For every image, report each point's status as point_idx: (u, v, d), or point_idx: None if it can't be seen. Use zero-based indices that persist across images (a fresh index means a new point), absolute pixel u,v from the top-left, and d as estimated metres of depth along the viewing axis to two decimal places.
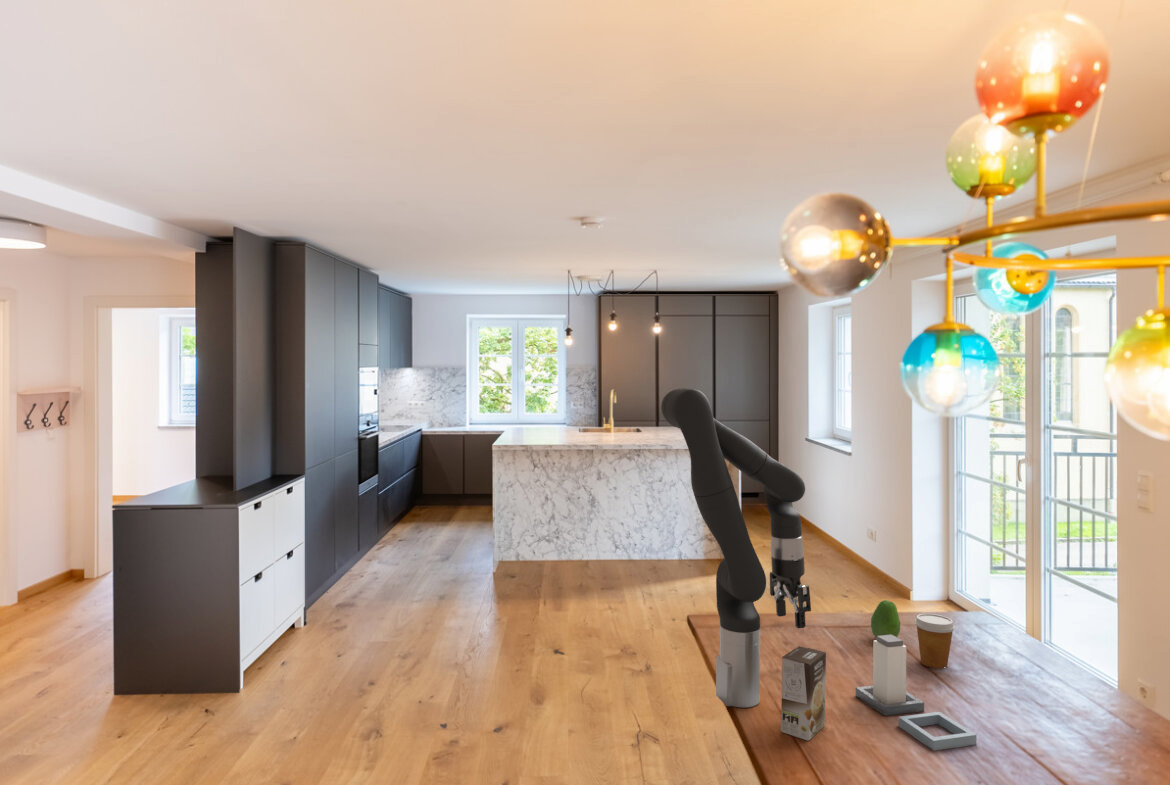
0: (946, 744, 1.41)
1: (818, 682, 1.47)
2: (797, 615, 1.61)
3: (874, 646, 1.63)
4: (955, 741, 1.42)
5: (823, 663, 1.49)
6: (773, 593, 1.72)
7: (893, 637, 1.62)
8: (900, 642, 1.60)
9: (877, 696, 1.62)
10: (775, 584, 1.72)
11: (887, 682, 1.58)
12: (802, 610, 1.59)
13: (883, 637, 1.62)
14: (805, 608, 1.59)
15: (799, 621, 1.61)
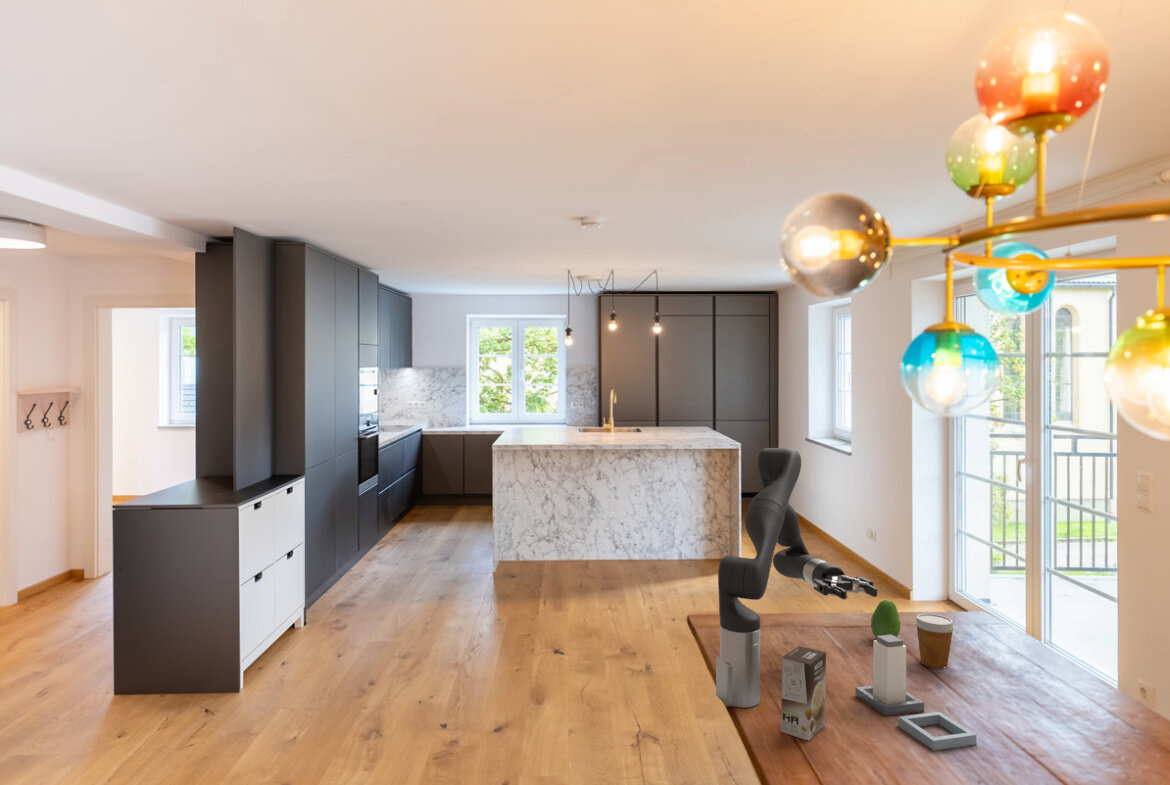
0: (946, 744, 1.41)
1: (818, 682, 1.47)
2: None
3: (874, 646, 1.63)
4: (955, 741, 1.42)
5: (823, 663, 1.49)
6: None
7: (893, 637, 1.62)
8: (899, 642, 1.60)
9: (877, 696, 1.62)
10: None
11: (887, 682, 1.58)
12: None
13: (883, 637, 1.62)
14: None
15: None
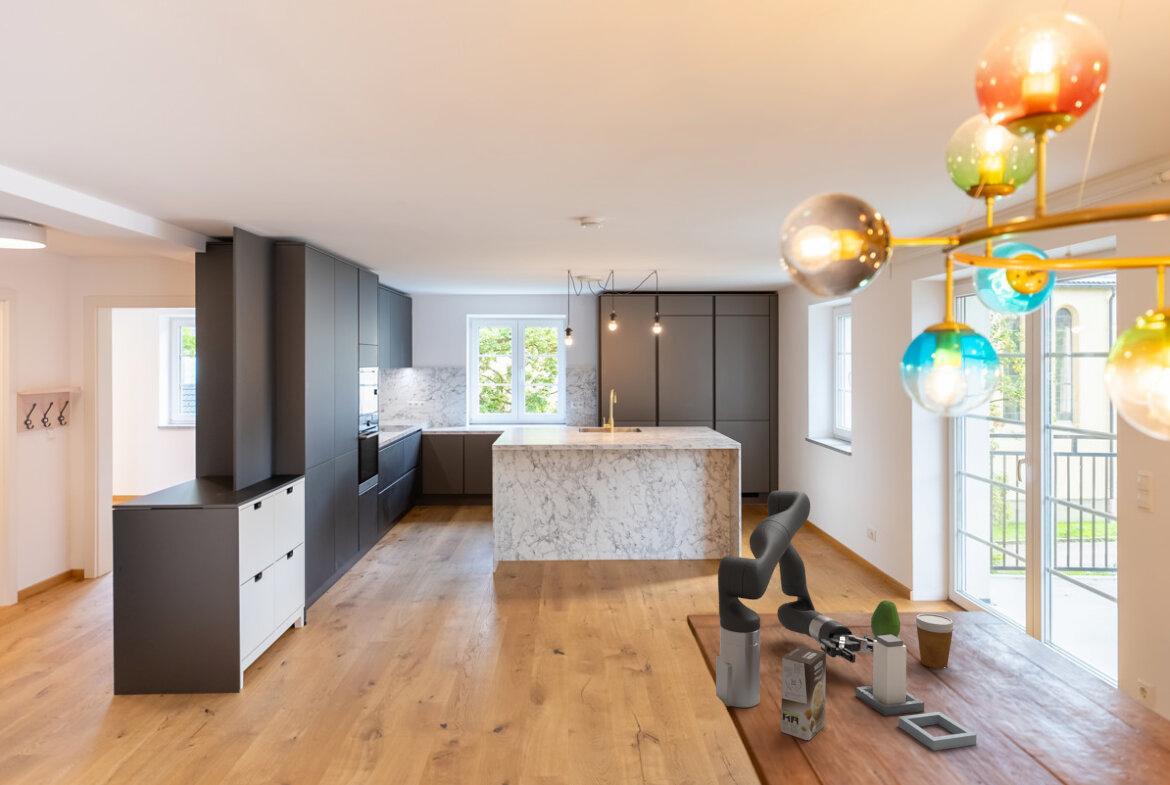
0: (946, 744, 1.41)
1: (818, 682, 1.47)
2: None
3: (874, 646, 1.63)
4: (955, 741, 1.42)
5: (823, 663, 1.49)
6: None
7: (893, 637, 1.62)
8: (899, 642, 1.60)
9: (877, 696, 1.62)
10: None
11: (887, 682, 1.58)
12: None
13: (883, 637, 1.62)
14: None
15: None
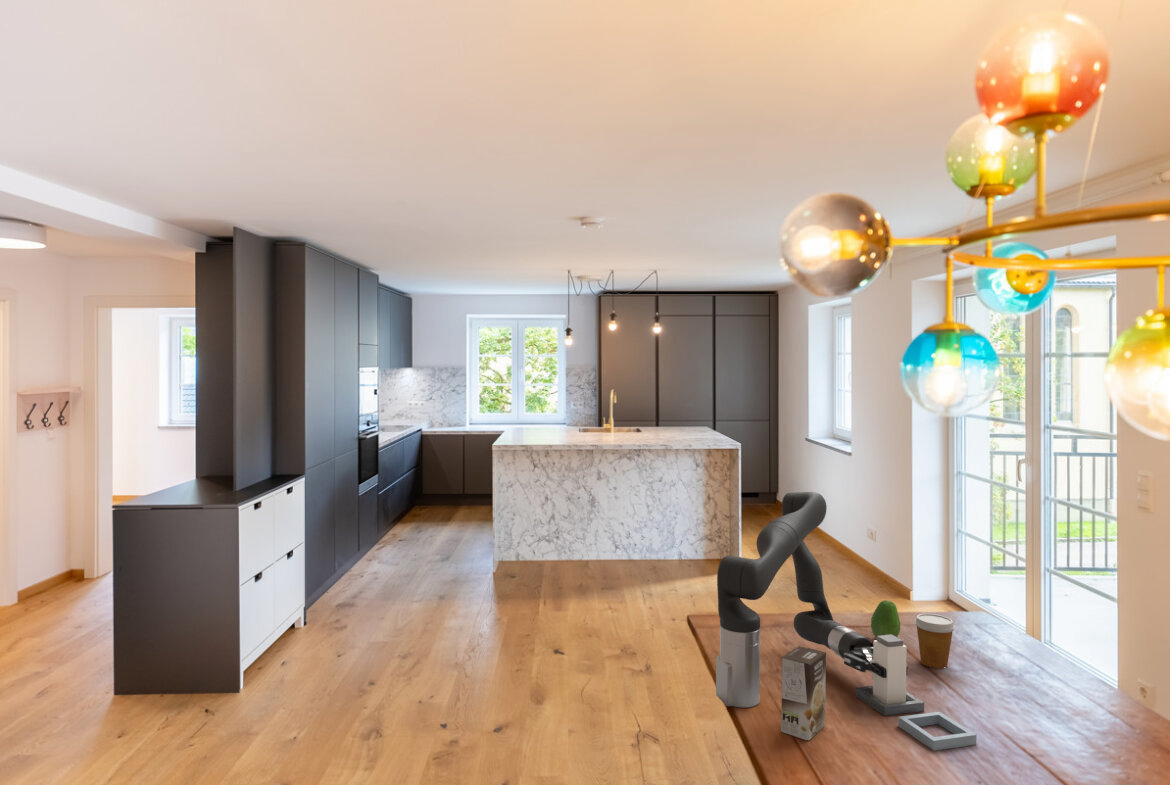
0: (946, 744, 1.41)
1: (818, 682, 1.47)
2: None
3: (874, 646, 1.63)
4: (955, 741, 1.42)
5: (823, 663, 1.49)
6: None
7: (893, 637, 1.62)
8: (900, 642, 1.60)
9: (877, 696, 1.62)
10: None
11: (887, 682, 1.58)
12: None
13: (883, 636, 1.62)
14: None
15: None
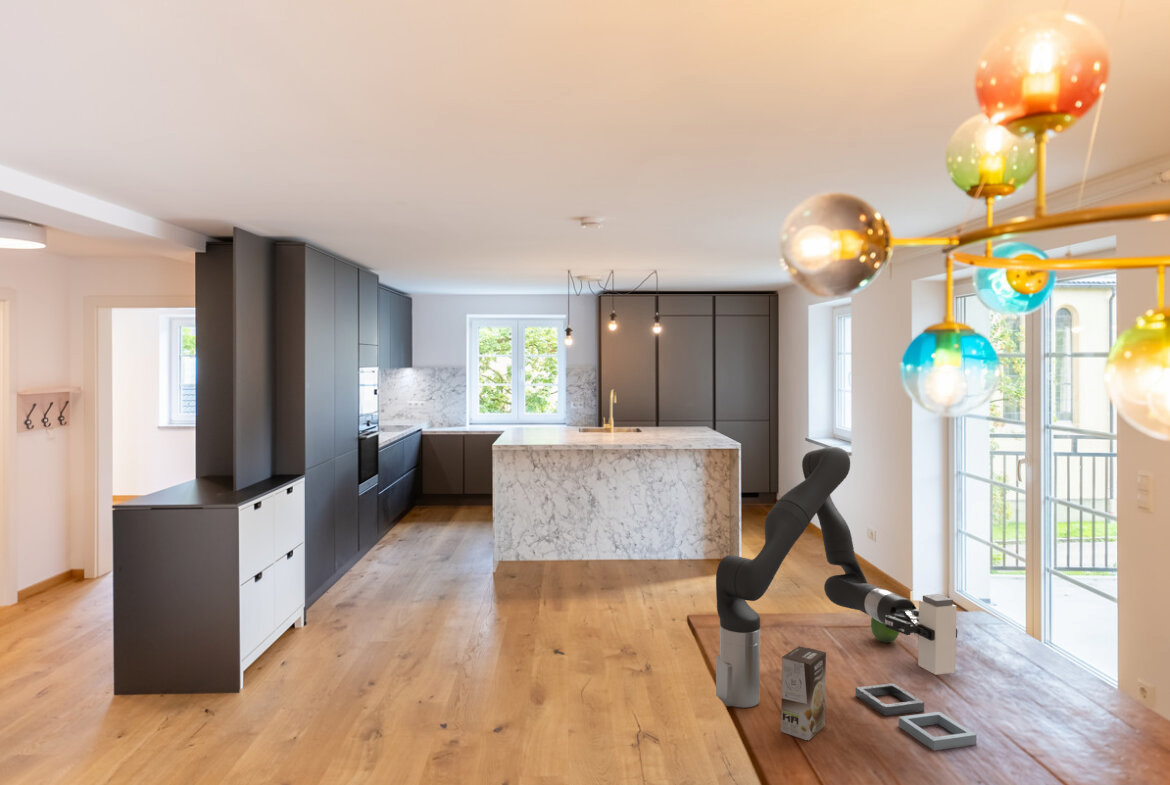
0: (946, 744, 1.41)
1: (818, 682, 1.47)
2: None
3: (920, 606, 1.48)
4: (955, 741, 1.42)
5: (823, 663, 1.49)
6: None
7: (941, 596, 1.48)
8: (949, 601, 1.45)
9: (923, 661, 1.47)
10: None
11: (936, 644, 1.44)
12: None
13: (930, 596, 1.48)
14: None
15: None
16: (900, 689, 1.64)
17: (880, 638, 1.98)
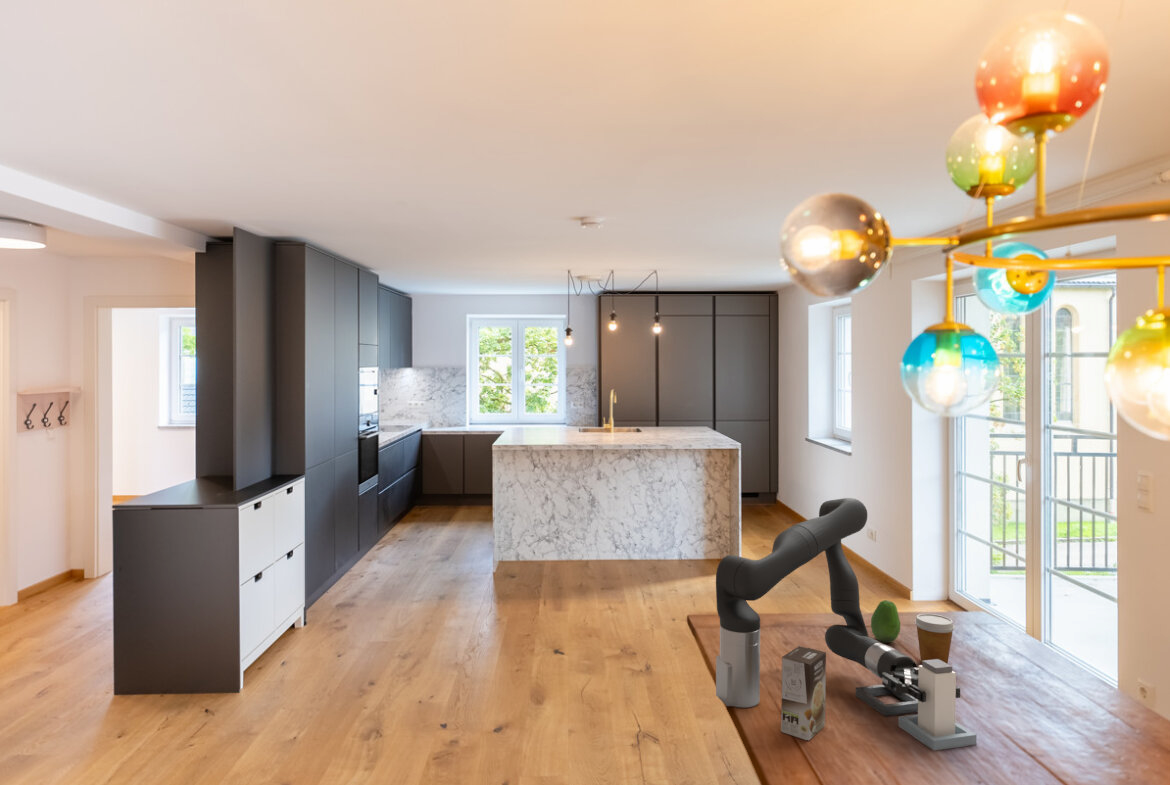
0: (946, 744, 1.41)
1: (818, 682, 1.47)
2: None
3: (919, 671, 1.48)
4: (955, 741, 1.42)
5: (823, 663, 1.49)
6: None
7: (941, 662, 1.47)
8: (948, 668, 1.45)
9: (923, 727, 1.47)
10: None
11: (935, 712, 1.44)
12: None
13: (929, 661, 1.48)
14: None
15: None
16: None
17: (880, 638, 1.98)
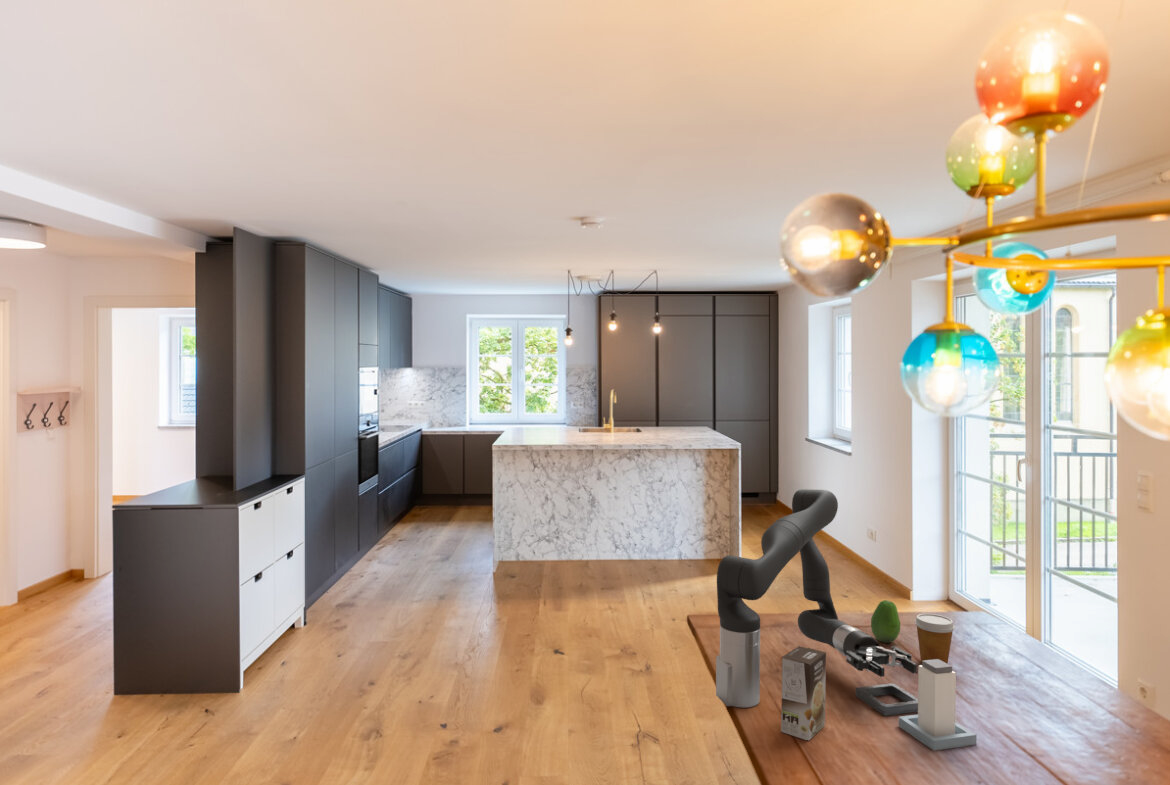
0: (946, 744, 1.41)
1: (818, 682, 1.47)
2: None
3: (919, 671, 1.48)
4: (955, 741, 1.42)
5: (823, 663, 1.49)
6: None
7: (941, 662, 1.47)
8: (948, 668, 1.45)
9: (923, 727, 1.47)
10: None
11: (935, 712, 1.44)
12: None
13: (929, 661, 1.48)
14: None
15: None
16: (900, 689, 1.64)
17: (880, 638, 1.98)
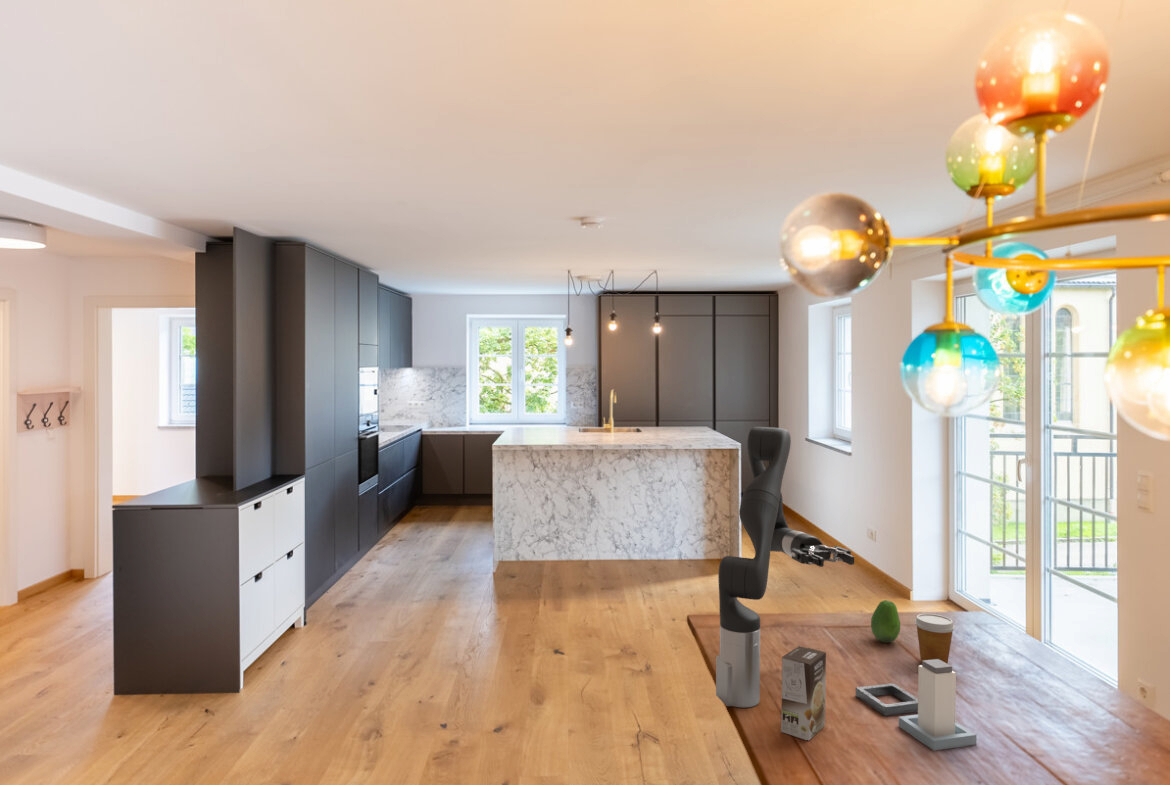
0: (946, 744, 1.41)
1: (818, 682, 1.47)
2: None
3: (919, 671, 1.48)
4: (955, 741, 1.42)
5: (823, 663, 1.49)
6: None
7: (941, 662, 1.47)
8: (948, 668, 1.45)
9: (923, 727, 1.47)
10: None
11: (935, 712, 1.44)
12: None
13: (929, 661, 1.48)
14: None
15: None
16: (900, 689, 1.64)
17: (880, 638, 1.98)
